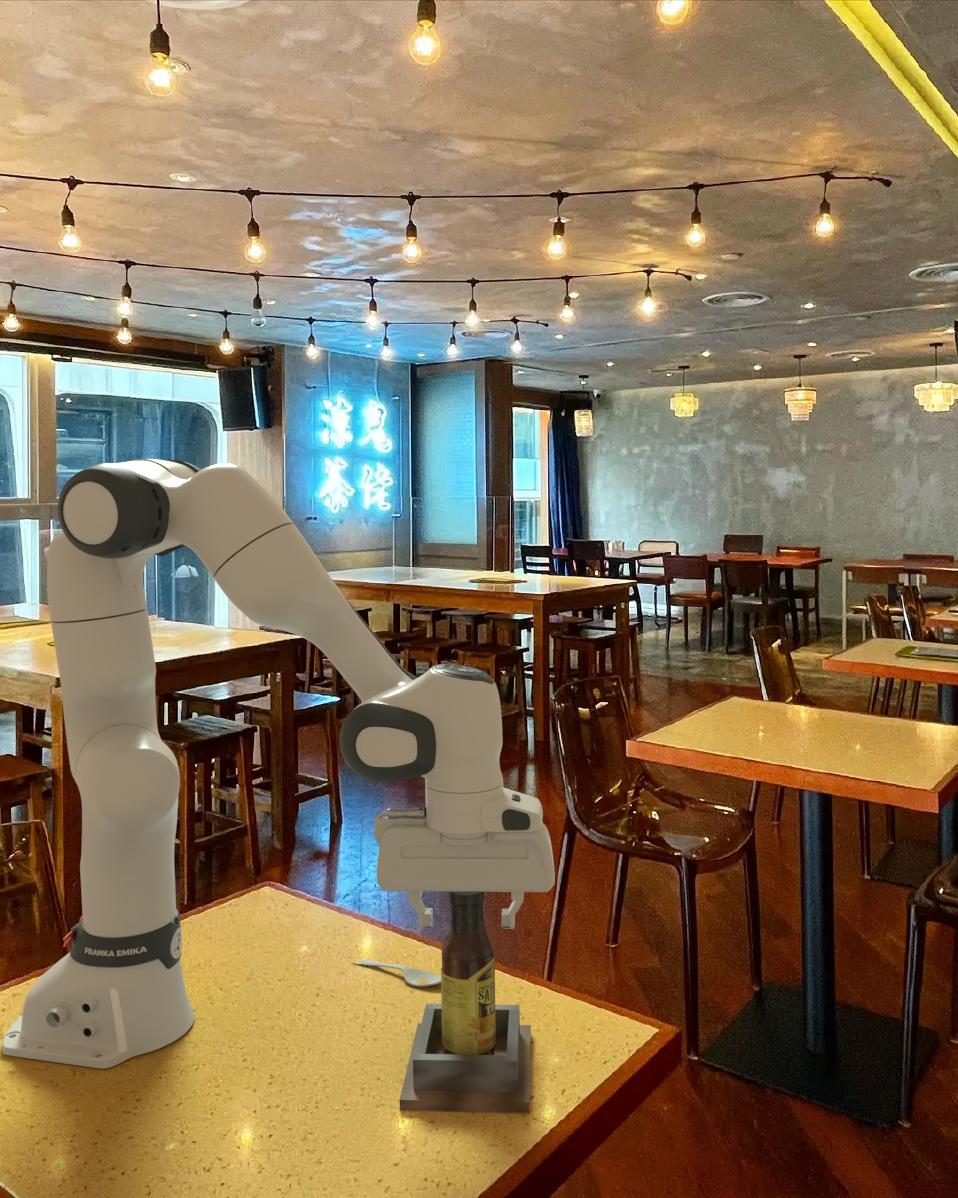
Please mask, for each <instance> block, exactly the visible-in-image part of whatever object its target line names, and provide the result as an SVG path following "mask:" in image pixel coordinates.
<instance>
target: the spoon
mask: <svg viewBox="0 0 958 1198" xmlns="http://www.w3.org/2000/svg"><path fill="white" fill-rule="evenodd" d="M363 959H364V958H362V960H360V961H359V960H358V962H360V964H364V965H363V966H366V965H368V966H370V967H384V968H389V969H395V970H400V971H402V973H403V974H402V975H403V978H404V980H405V982H406V983H408V984H409V986H414V987H419V988H421V987H431V986H435V985H439V984H441V974H440V975H439V974H436V973H432V972H430V971H425V970H423V969H417V968H413V967H408V966H404V965H400V964H399V965H398V964H391V963H388V962H387V963H385V962H381V961H376V960H375V961H374V960H372V959H371V960H370V959H366V960H363ZM368 966H367V967H368ZM421 980H426V981H428V983H426V984H421V983H418V981H421Z"/></svg>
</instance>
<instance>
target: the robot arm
mask: <svg viewBox="0 0 958 1198" xmlns="http://www.w3.org/2000/svg"><path fill="white" fill-rule="evenodd" d="M57 516H58V517H57V518H58V521H59V522H58V523H59V526H60V527H61V531H60V532H58V534H56V535H55V536H54V537H53V538H52V540H51V542H49V547H48V551H47V565H46V569H47V570H46V572H47V573H46V581H47V582H46V583H47V584H46V587H47V589H46V590H47V602H48V603H47V604H48V610H49V611H48V612H49V616H50V617H49V618H50V619H49V620H50V625H51V629H52V630H51V631H52V639H53V644H54V649H55V650H54V651H55V656H56V663H57V668H58V669H57V670H58V675H59V683H60V689H61V699H62V701H61V702H62V709H63V711H62V712H63V719H64V729H65V735H66V745H67V752H68V753H67V754H68V759H69V766H70V767H69V768H70V772H71V775H72V778H73V780H74V782H75V784H76V785H77V787H78V791H79V794H80V802H81V853H80V862H79V873H80V875H79V876H80V888H81V890H80V891H81V908H82V909H81V910H82V912H81V913H82V915H81V916H80V918H79V920H78V921H79V922H78V923H76V924H75V925H74V926H72V927H71V928H70V930H69V931H70V932H69V933H67V934H66V935H65V937H63V939H62V941H64V943H63V946H62V947H63V948H66V947H67V946H69V944H70V948H71V949H70V951H69V952H68V953H67V954H65V955H64V956H63V957H62V958H61V959H59V960H58V961H57V962H56V963H55V964H53V966H51V967H50V968H49V969H47V971H45V972H44V973H43V974H42V975H41V976H40V977H39V978H38V979H37V980H36V981H35V982H34V983H33V985H32V986H31V988H30V989H29V991H28V992H27V994H26V996H25V998H24V1003H23V1009H22V1015H20V1016H19V1017H18V1018H17V1019H16V1020H15V1021H14V1022H13V1023H12V1024H11V1025H10V1027H9V1028H8V1030H7V1031H6V1033H5V1034H4V1036H3V1039H2V1054H3V1055H5V1056H12V1057H18V1058H25V1059H32V1060H39V1061H45V1062H46V1061H47V1062H52V1063H58V1064H59V1063H60V1064H67V1065H74V1066H80V1067H87V1068H92V1069H93V1068H95V1069H104V1070H105V1069H110V1068H112V1067H115V1066H116V1065H119V1064H121V1063H122V1062H125V1061H127V1060H128V1059H131V1058H134V1057H137V1056H140V1055H143V1054H148V1053H150V1052H154V1051H155V1050H156V1051H157V1050H159V1049H161V1048H163V1047H165V1046H167V1045H169V1044H171V1043H173V1042H175V1041H176V1040H178V1039H180V1038H181V1037H182V1036H184V1035H185V1034H187V1032H188V1031H189V1030H190V1029H191V1027H192V1026H193V1023H194V1021H195V1013H194V1011H193V1008H192V1005H191V1002H190V1000H189V997H188V996H189V995H188V993H187V990H186V989H187V988H186V985H185V980H184V975H183V969H182V963H181V957H182V950H183V934H182V927H181V916H180V915H181V914H180V911H179V910H178V909H177V901H176V900H177V899H176V877H175V876H176V875H175V873H176V872H175V841H176V834H177V824H178V813H179V811H178V810H179V809H178V808H179V793H180V789H181V775H180V768H179V765H178V760H177V758H176V756H175V754H174V752H173V751H172V750H171V748H170V747H169V746H168V745H167V744H166V743H165V742H164V741H163V740H162V738H161V735H160V733H159V729H158V719H157V706H156V705H157V704H156V703H157V702H156V701H157V700H156V676H157V667H156V661H155V660H156V659H155V653H154V652H155V651H154V647H153V640H152V639H153V637H152V633H151V625H150V619H149V611H148V606H147V598H146V595H145V588H144V570H145V567H146V564H147V562H148V561H149V560H150V558H151V557H153V556H154V555H155V556H158V557H164V556H166V555H169V554H170V553H173V552H175V551H177V550H179V549H182V548H185V547H187V548H189V549H190V550H191V551H193V552H194V554H195V555H196V556H197V557H198V559H200V561H201V562H202V564H203V565H204V567H205V568H206V569H207V571H208V572H209V574H210V575H211V577H212V578H213V580H214V581H215V582H216V584H217V586H219V588H220V590H221V591H222V592H223V593H224V594H225V596H226V597H227V598H228V600H229V601H230V602H231V603H232V604H233V605H234V606H235V607H236V608H237V609H238V610H240V612H242V614H244V616H246V617H247V618H248V619H249V620H250V621H252V622H253V623H255V624H258V625H260V626H263V627H268V628H271V629H275V630H279V631H284V632H287V633H291V634H293V635H296V636H298V637H301V638H303V639H305V640H306V641H307V642H308V641H309V642H310V643H311V644H313V645H314V646H315V647H317V648H318V649H319V650H320V651H321V652H322V653H323V654H324V655H325V656H326V658H327V659H328V660H329V661H330V663H331V664H332V666H334V668H335V669H336V670H337V671H338V672H339V673H340V675H341V676H342V678H343V679H344V680H345V681H346V682H347V684H348V685H349V686H350V687H351V689H352V690H353V691H354V692H355V694H356V695H357V696H358V698H359V699H360V701H361V703H360V704H358V705H357V706H356V707H354V708H353V709H352V710H351V711H350V713H348V715H347V716H346V717H345V719H344V720H343V722H342V725H341V727H340V729H339V737H338V738H339V740H338V741H339V749H340V753H341V755H342V758H343V760H344V762H345V763H346V765H347V766H348V767H349V769H350V770H351V771H352V772H353V773H354V774H356V776H358V777H359V778H362V779H364V780H365V781H368V782H372V783H387V782H389V783H390V782H396V781H403V780H409V779H414V778H418V777H422V778H424V783H425V784H424V785H425V786H424V788H425V790H424V791H425V807H408V808H399V807H389V808H387V809H386V810H385V811H383V812H381V813H380V814H378V815H377V816H376V818H375V819H374V823H373V826H374V827H373V829H374V831H373V832H374V834H373V835H374V839H375V841H376V843H377V844H378V845H379V847H378V853H377V854H378V855H377V864H376V866H377V867H376V883H377V884H378V886H379V887H380V888H381V890H382V891H384V892H408V893H407V894H408V895H407V896H408V902H409V903H410V905H411V907H412V908H413V909H414V911H415V912H416V914H417V915H418V929H430V928H431V929H433V925H434V917H433V915H434V909H433V908H432V907H426V905H425V904H424V902H423V900H422V896H423V892H449V891H454V892H484V893H489V892H490V893H493V892H494V893H503V892H504V893H510V895H511V897H510V898H511V901H512V902H511V903H510V905H509V907H508V908H501V913H500V914H501V929H506V930H507V929H508V930H510V929H511V930H514V929H515V925H516V922H515V921H516V920H515V919H516V918H515V917H516V916H515V915H516V914H517V912H518V911H519V909H520V908H521V906H522V904H523V903H524V901H525V900H524V898H525V897H524V896H525V893H547V892H549V891H550V890H551V889H552V888H553V886H554V885H555V882H556V879H555V877H556V876H555V865H554V854H553V847H552V840H551V836H550V833H549V830H548V827H547V826H546V824H545V823H543V818H544V812H543V806H542V803H541V801H540V799H539V798H537V797H534V796H531V795H528V794H525V793H523V792H519V791H515V790H512V789H510V788H506V787H504V778H503V774H502V773H503V772H502V770H501V765H500V758H501V757H500V756H501V752H502V748H503V742H504V741H503V740H504V739H503V719H502V717H503V716H502V707H501V706H502V705H501V699H500V693H499V690H498V686H497V683H496V682H495V680H494V679H493V678H492V677H491V676H490V675H489V674H488V673H487V672H486V671H484V670H480V669H479V668H477V667H474V666H469V665H464V664H456V663H452V664H451V663H450V664H449V663H441V664H436V665H432V666H431V667H430V668H429V669H428V670H427V671H426V672H424V673H423V674H422V675H420V676H419V677H418V676H416V675H414V674H413V673H411V672H410V671H408V670H407V669H406V668H404V666H403V665H401V664H400V663H399V662H398V661H397V659H396V658H395V657H394V656H393V655H392V653H391V652H390V650H389V649H387V647H386V646H385V645H384V644H383V642H382V641H381V640H380V638H379V637H378V635H376V634H375V632H374V631H373V629H371V627H370V626H369V625H368V623H367V622H366V621H365V620H364V619H363V617H362V616H361V615H360V614H359V613H358V611H356V609H355V608H354V606H353V605H352V604H351V603H350V602H349V601H348V599H347V598H346V597H345V595H344V594H343V593H342V591H341V589H340V588H339V586H337V584H336V583H335V581H334V580H333V579H332V577H331V576H330V575H329V573H328V571H327V570H326V569H325V567H324V565H323V564H322V562H321V561H320V559H319V558H318V556H317V554H316V553H315V551H314V550H313V548H312V547H311V546H310V545H309V543H308V541H307V539H305V537H304V536H303V534H302V533H301V531H300V529H298V527H297V525H295V523H294V521H293V520H292V519H291V518H290V517H289V515H288V514H287V513H286V511H285V510H284V508H283V507H282V506H281V505H280V503H278V501H276V499H275V498H274V497H273V496H272V494H270V493H269V492H268V490H267V489H265V488H264V486H263V485H262V484H261V483H259V481H258V480H257V479H256V478H254V477H253V476H252V475H251V474H250V473H249V472H248V471H247V470H246V469H244V468H243V467H241V466H239V465H236V464H234V463H229V462H227V463H226V462H225V463H224V462H223V463H222V462H221V463H216V464H212V465H209V466H207V467H204V468H202V469H201V468H200V467H197V466H196V465H194V464H191V463H188V462H185V461H183V460H182V461H181V460H178V459H167V460H164V459H155V458H138V459H137V458H136V459H132V460H128V461H121V462H116V463H113V462H112V463H111V462H105V463H102V462H101V463H98V464H95V465H91V466H89V467H86V468H83V469H82V470H79V471H78V472H77V473H75V474H74V475H72V476H71V477H70V478H69V479H68V480H67V481H66V482H65V484H64V485H63V486H62V489H61V491H60V494H59V496H58V502H57Z"/></svg>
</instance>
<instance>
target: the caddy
mask: <svg viewBox="0 0 958 1198" xmlns="http://www.w3.org/2000/svg"><path fill="white" fill-rule="evenodd" d="M424 1007H425V1008H424V1010H423V1014H422V1019H421V1022H420V1023H417V1025H416V1030H415V1034H414V1038H413V1042H412V1046H411V1050H410V1055H409V1057H408V1058H409V1059H408V1063H407V1066H406V1071H405V1074H404V1075H405V1076H404V1079H403V1084H402V1087H401V1088H402V1089H401V1091H400V1097H399V1099H398V1100H399V1111H409V1112H411V1111H414V1112H458V1113H459V1112H460V1113H462V1112H464V1113H467V1112H468V1113H500V1114H501V1113H507V1114H508V1113H511V1114H512V1113H513V1114H517V1113H518V1114H530V1109H531V1108H530V1106H531V1105H530V1101H531V1053H532V1052H531V1051H532V1050H531V1040H532V1039H531V1038H532V1029H531V1028H532V1027H531V1024H521V1020H520V1019H521V1018H520V1014H521V1013H520V1004H495V1026H496V1043H495V1047H494V1055H460V1054H444V1053H443V1044H442V1003H425V1006H424Z"/></svg>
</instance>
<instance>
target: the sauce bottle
mask: <svg viewBox="0 0 958 1198" xmlns="http://www.w3.org/2000/svg"><path fill="white" fill-rule="evenodd" d="M448 892H449V893H448V895H449V903H450V906H451V907H450V912H451V913H450V916H451V918H450V926H451V928H449V929H450V930H449V931H448V933H447V935H445V937H444V939H443V942H442V945H441V969H440V976H441V983H440V985H441V987H440V988H441V993H440V994H441V997H440V998H441V1004H442V1044H443V1053H444V1054H460V1055H494V1047H495V1043H496V1026H495V1005H496V965H495V964H496V960H495V959H496V957H495V953H494V949H493V947H492V944H491V941H490V939H489V936H488V933H487V931H486V928H485V921H484V901H485V892H454V891H448Z"/></svg>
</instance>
